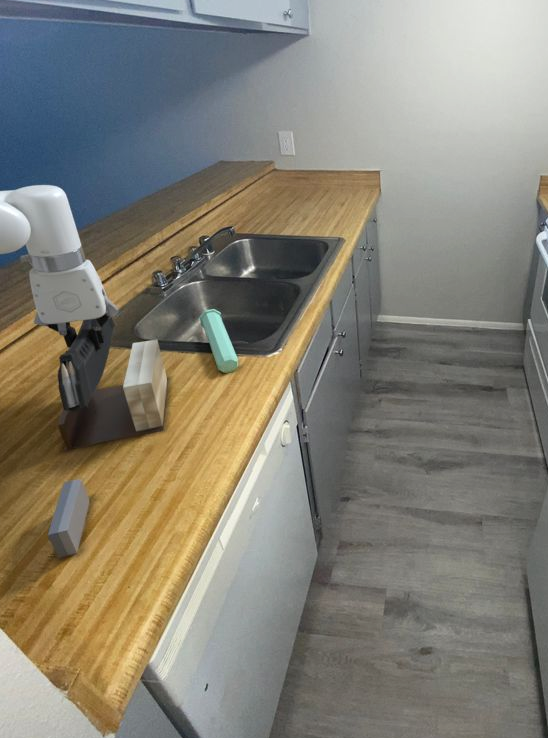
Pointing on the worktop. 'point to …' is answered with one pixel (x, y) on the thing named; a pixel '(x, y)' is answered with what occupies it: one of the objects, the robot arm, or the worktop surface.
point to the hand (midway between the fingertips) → (88, 346)
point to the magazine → (83, 367)
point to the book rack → (122, 404)
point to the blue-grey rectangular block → (69, 518)
